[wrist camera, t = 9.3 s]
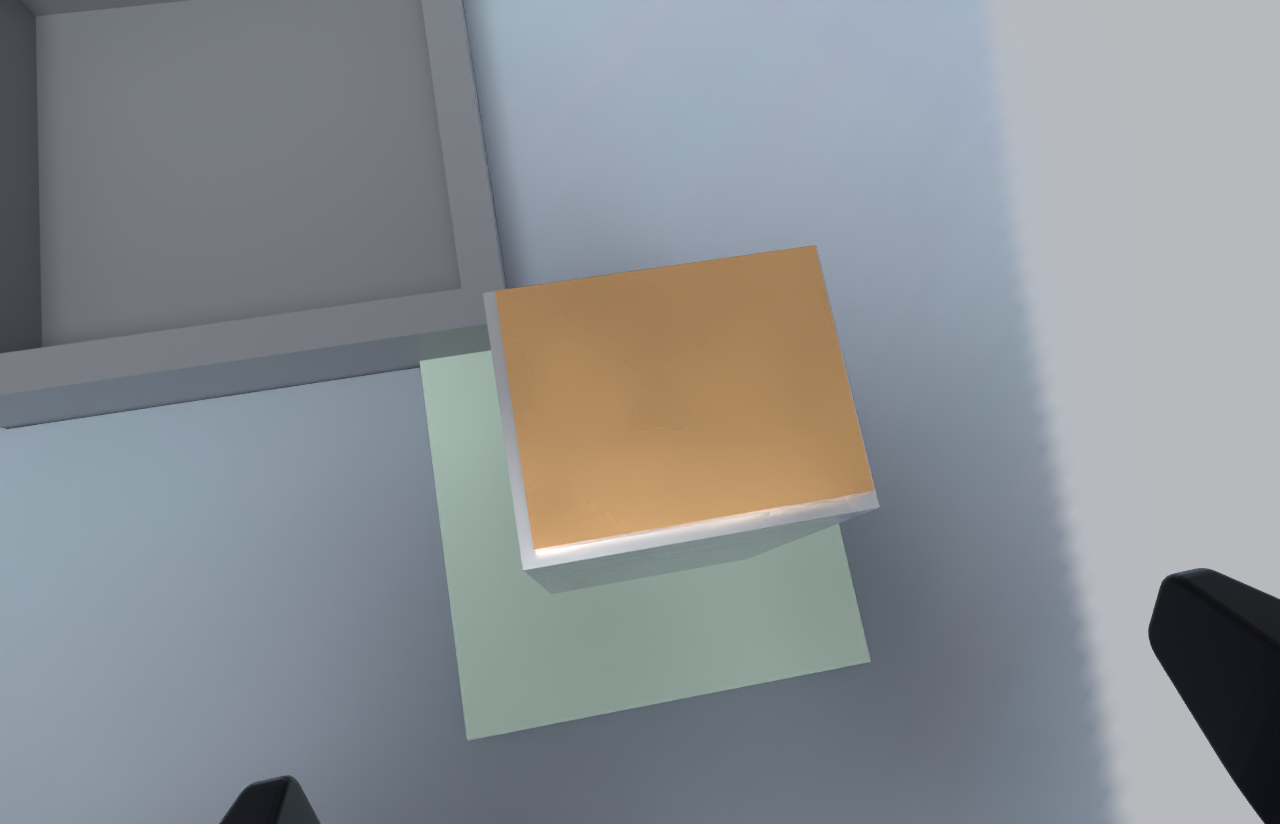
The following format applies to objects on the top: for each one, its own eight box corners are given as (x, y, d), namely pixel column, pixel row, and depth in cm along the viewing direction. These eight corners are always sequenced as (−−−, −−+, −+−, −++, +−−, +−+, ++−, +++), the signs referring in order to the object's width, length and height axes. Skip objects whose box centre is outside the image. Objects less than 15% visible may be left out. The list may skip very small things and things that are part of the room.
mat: (864, 661, 22) (870, 662, 21) (469, 738, 21) (466, 740, 20) (780, 295, 24) (784, 288, 23) (420, 348, 23) (417, 343, 22)
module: (747, 559, 22) (892, 502, 11) (551, 594, 21) (519, 568, 11) (716, 407, 22) (825, 230, 12) (527, 438, 22) (478, 279, 12)
